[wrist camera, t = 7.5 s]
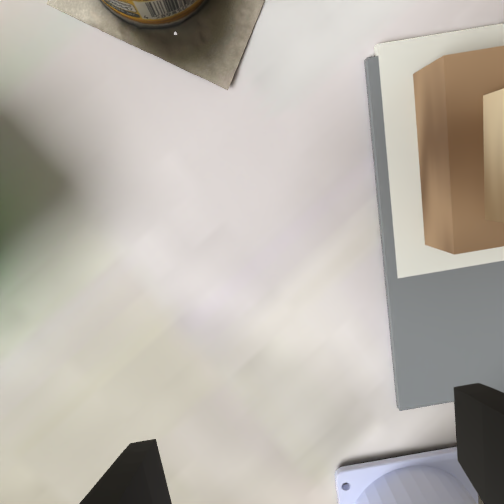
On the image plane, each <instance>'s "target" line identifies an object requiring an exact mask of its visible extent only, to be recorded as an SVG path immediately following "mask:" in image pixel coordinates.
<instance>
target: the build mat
mask: <svg viewBox="0 0 504 504" xmlns="http://www.w3.org/2000/svg"><path fill="white" fill-rule="evenodd" d="M498 46H504V23H502V24H496V25H490V26H483V27H477V28H471V29H465V30H459V31H453V32H447V33H440V34H434V35H428V36H422V37H416V38H410V39H404V40H397V41H391V42H385V43H379V44H377V45H376V46H375V47H374V53H375V57H369V58H367V59H365V60H364V62H365V73H366V83H367V94H368V105H369V115H370V126H371V137H372V147H373V158H374V168H375V179H376V190H377V200H378V211H379V222H380V232H381V243H382V254H383V264H384V275H385V285H386V296H387V307H388V317H389V328H390V339H391V349H392V360H393V370H394V381H395V392H396V402H397V407H398V409H399V410H400V411H402V410H408V409H414V408H420V407H425V406H431V405H437V404H443V403H449V402H454V387H457V386H463V385H469V384H474V383H481V384H483V385H486V386H489V387H491V388H494V389H496V390H498V391H501V392H503V393H504V246H503V247H497V248H491V249H485V250H479V251H473V252H467V253H461V254H455V255H454V254H451V253H448V252H445V251H442V250H439V249H436V248H433V247H430V246H427V245H425V239H424V225H423V210H422V196H421V182H420V168H419V153H418V139H417V125H416V111H415V97H414V82H413V74H414V73H415V72H417V71H419V70H420V69H422V68H424V67H425V66H427V65H429V64H430V63H432V62H434V61H435V60H437V59H438V58H440V57H442V56H443V55H449V54H455V53H461V52H468V51H474V50H480V49H486V48H492V47H498Z"/></svg>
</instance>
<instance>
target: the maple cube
mask: <svg viewBox="0 0 504 504" xmlns="http://www.w3.org/2000/svg"><path fill="white" fill-rule="evenodd" d="M483 130H484V204H485V220H489V221H495V222H502V223H504V88H503V89H500V90H498V91H495V92H492V93H489V94H486V95H483Z"/></svg>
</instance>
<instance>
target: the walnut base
mask: <svg viewBox="0 0 504 504" xmlns="http://www.w3.org/2000/svg"><path fill="white" fill-rule="evenodd" d="M413 82H414V97H415V111H416V125H417V139H418V153H419V168H420V182H421V196H422V210H423V225H424V239H425V245H427V246H430V247H433V248H436V249H439V250H442V251H445V252H448V253H451V254H454V255H455V254H461V253H467V252H473V251H479V250H485V249H491V248H497V247H503V246H504V223H502V222H495V221H489V220H485V204H484V130H483V95H486V94H489V93H492V92H495V91H498V90H500V89H503V88H504V46H498V47H492V48H486V49H480V50H474V51H468V52H461V53H455V54H449V55H443V56H442V57H440V58H438V59H437V60H435V61H434V62H432V63H430V64H429V65H427V66H425V67H424V68H422V69H420V70H419V71H417V72H415V73H414V74H413Z"/></svg>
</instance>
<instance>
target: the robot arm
mask: <svg viewBox="0 0 504 504" xmlns="http://www.w3.org/2000/svg"><path fill="white" fill-rule="evenodd" d="M454 404H455V422H456V440H457V447H452V448H446V449H441V450H435V451H429V452H424V453H418V454H412V455H406V456H401V457H395V458H389V459H383V460H378V461H372V462H366V463H360V464H355V465H349V466H343V467H340V468H338V469H337V470H336V472H335V481H336V489H337V496H338V503H339V504H479V503H478V494H479V496H480V498H481V499H482V501H483V502H484V504H504V393H503V392H501V391H498V390H496V389H494V388H491V387H489V386H486V385H483V384H481V383H474V384H469V385H463V386H457V387H454ZM343 483H347V484H345V485H342V484H343ZM80 504H172V503H171V499H170V495H169V491H168V487H167V483H166V479H165V475H164V471H163V467H162V463H161V459H160V455H159V451H158V446H157V442H156V439H153V440H147V441H141V442H136V443H130V444H129V445H128V447H127V448H126V449H125V450H124V451H123V452H122V453H121V455H120V456H119V457H118V458H117V459H116V461H115V462H114V463H113V464H112V465H111V467H110V468H109V469H108V470H107V471H106V473H105V474H104V475H103V476H102V477H101V479H100V480H99V481H98V482H97V483H96V485H95V486H94V487H93V488H92V489H91V491H90V492H89V493H88V494H87V495H86V496H85V498H84V499H83V500H82V501H81V502H80Z"/></svg>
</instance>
